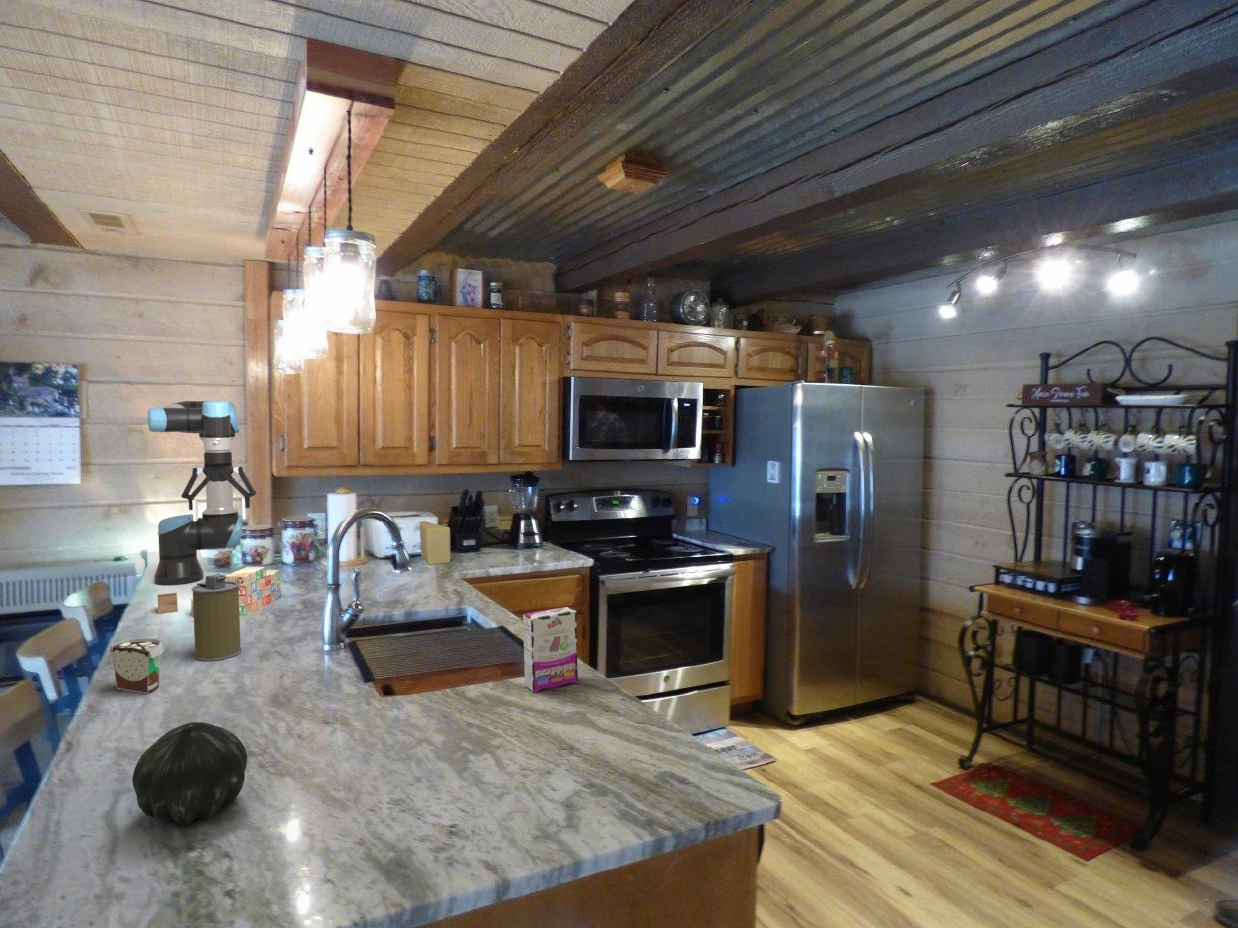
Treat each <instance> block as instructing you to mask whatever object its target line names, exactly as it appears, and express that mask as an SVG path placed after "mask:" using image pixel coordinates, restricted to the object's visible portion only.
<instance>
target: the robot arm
mask: <svg viewBox="0 0 1238 928" xmlns="http://www.w3.org/2000/svg"><path fill="white" fill-rule="evenodd" d="M147 424H148V430H149V431H150V432H152V433H153V432H154V433H183V434H184V433H185V434H186V433H187V434H198V436H199V437H198V438H199V440H201V442H203V451H204V453H203V458H204V459H203V462H204V463H203V464H204V466H203V467H198V466H197V467H193V468H192V472H191V473H192V474H191V477H190V478H189V480H188V482H187V484H186V486H185V488H184V490H183V492H182V493H181V498H182V499H186V500H187V501H188V509H189V511H192V513H190V514H181V515H175V516H171V517H167V518H164V519H163V518H162V520H160V521H159V522H158V523H157V524H158V527H157V536H158V559H159V561H158V565H157V568H156V571H155V573H154V575H153V577H154V578H153V579H154V584H156V585H162V586H169V585H170V586H172V585H182V584H183V585H184V584H189V583H195V582H198V581H201V580H203V579H204V572H203V571H204V570H203V569H202V566H201V564H200V562H199V559H198V554H197V553H198V552H197V551H203V550H214V549H228V548H236V547H238V546H239V544H240V543H241V537H242V529H243V520H246V519H247V518H248V515H247V514H248V513H247V512H248V511H247V509H250V507H251V497H253V496H255V495H257V492H256V490H255V488H254V487H253V484H252V483H251V481H250V480H249V477H248V476H247V474H246V473H245V468H244V466H238V467H237V466H236V467H234V466H233V456H232V454H233V453H232V446H233V445H232V442H233V441H234V440H235V439H236V434H239V433H240V426H239V420H238V415H237V410H236V406H235V404H234V403H233V401H232V402H231V401H227V400H225V401H223V400H195V401H194V400H184V401H178V402H172V403H169V404H165V405H164V406H163V407H160V406H159V407H151V408H148V410H147ZM234 472H235V473H236V474H238V475H239V477H240V480H241V481H242V482H243V484H244V485H245V487H246V488H244V487H243V486H242V485H241V484H240V483H239V482H238V481H237V480H236V479H235V478H234V477H233V473H234ZM201 473H203V475H205V477H204V479H203V480H202V481H201V482H200V483H199V484H198V486H197V487H196V488H195V489H194V490H193V491H192V489H193V486H194V485H195V482H196V481H197V478H198V477H199V475H201ZM233 487H234V488H235V489H236V490H237V491H238V493H240V494H241V496H243V497H242V498H241V510H242V515H240V514H239V511H238V509H236V508H235V507H234V495H233ZM204 488H205V493H206V494H205V495H206V498H205V499H206V508H205V510H203V511H202V512H201V514H202V515H201V516H202V517H199V513H198V512H199V510H198V499H197V498H196V497H197V496H198V495H199V493H200V492H201V491H202V490H203V489H204ZM246 489H247V490H246ZM191 491H192V493H190V492H191Z"/></svg>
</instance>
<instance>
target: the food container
mask: <svg viewBox="0 0 1238 928" xmlns="http://www.w3.org/2000/svg"><path fill="white" fill-rule="evenodd" d="M110 644H111V645H110V646H109V647H110V650H109V653H111V656H112V662H113V663H112V665H113V670H114V671H113V672H114V679H115V687H116V689H117V690H121V691H127V692H133V693H138V694H139V693H140V694H145V695H149V694H151V693H153V692H156V691H157V690H158V689H159V684H160V666H161V655H162V654H163V653H164V651H165V650H164V646H163V643H162V642H161V640H160V639H157V638H153V637H152V638H151V637H149V638H148V637H147V638H146V637H143V638H142V637H141V638H133V639H132V638H131V639H126V640H120V641H116V642H112V643H110Z"/></svg>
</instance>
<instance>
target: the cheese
mask: <svg viewBox="0 0 1238 928" xmlns="http://www.w3.org/2000/svg"><path fill="white" fill-rule="evenodd" d="M419 535H420V538H419V539H420V556H421V557H422V558H423V559H424V560H425V561H426V563H427V565H429V566H433V565H441V564H449V563H451V555H452V554H451V528H450V526H444V525H442V524H437V523H433V522H429V521H426V520H423V521H420V523H419Z"/></svg>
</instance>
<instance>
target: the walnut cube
mask: <svg viewBox="0 0 1238 928" xmlns="http://www.w3.org/2000/svg"><path fill="white" fill-rule="evenodd" d="M177 593H178V592H169V593H161V594H157V613H158V615H162V614H171V613H178V611H179V610H178V594H177Z"/></svg>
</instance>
